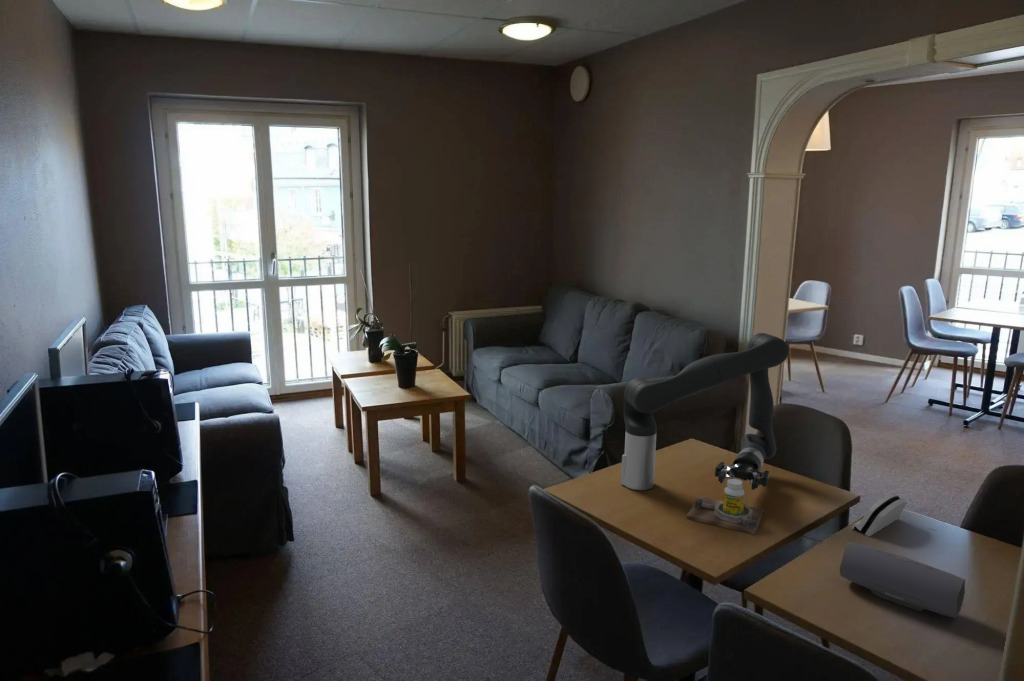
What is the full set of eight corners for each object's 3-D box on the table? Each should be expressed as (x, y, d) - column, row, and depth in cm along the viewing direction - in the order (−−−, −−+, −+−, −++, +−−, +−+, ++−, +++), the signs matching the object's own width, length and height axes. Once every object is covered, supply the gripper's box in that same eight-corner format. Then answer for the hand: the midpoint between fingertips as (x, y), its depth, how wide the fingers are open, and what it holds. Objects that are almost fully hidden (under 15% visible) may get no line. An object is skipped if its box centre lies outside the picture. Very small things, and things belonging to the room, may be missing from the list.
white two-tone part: (879, 512, 193) (895, 485, 188) (895, 523, 189) (912, 496, 185) (849, 529, 183) (866, 501, 178) (866, 541, 179) (883, 513, 175)
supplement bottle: (742, 511, 191) (745, 479, 188) (743, 519, 186) (745, 486, 183) (722, 508, 192) (725, 476, 190) (722, 516, 187) (724, 484, 185)
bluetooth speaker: (962, 612, 147) (969, 570, 145) (952, 631, 140) (959, 587, 138) (850, 572, 162) (855, 533, 160) (836, 587, 155) (841, 547, 153)
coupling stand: (686, 518, 188) (687, 509, 187) (699, 499, 200) (700, 490, 199) (754, 534, 180) (755, 524, 179) (763, 513, 191) (764, 504, 191)
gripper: (724, 447, 205) (711, 465, 191) (774, 456, 198) (765, 475, 184) (722, 470, 206) (709, 490, 193) (772, 480, 200) (762, 501, 186)
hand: (736, 483), depth 188 cm, fingers open, 8 cm apart
